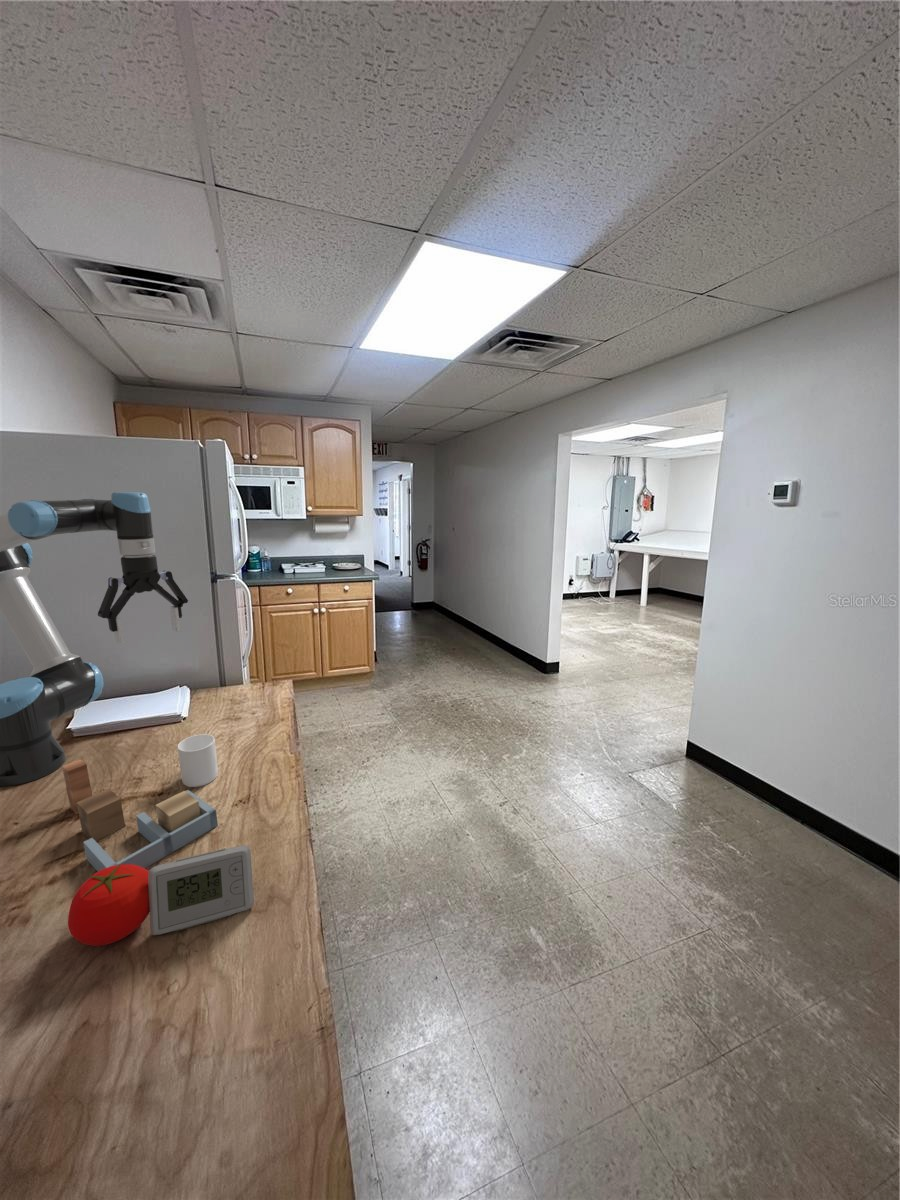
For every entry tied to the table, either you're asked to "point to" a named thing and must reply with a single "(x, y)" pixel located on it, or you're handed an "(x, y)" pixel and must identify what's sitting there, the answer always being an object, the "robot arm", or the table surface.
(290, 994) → the table surface
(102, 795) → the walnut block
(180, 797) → the oak block
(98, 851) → the lane shelf
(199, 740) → the cup
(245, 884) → the digital clock
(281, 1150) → the table surface
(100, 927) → the tomato
